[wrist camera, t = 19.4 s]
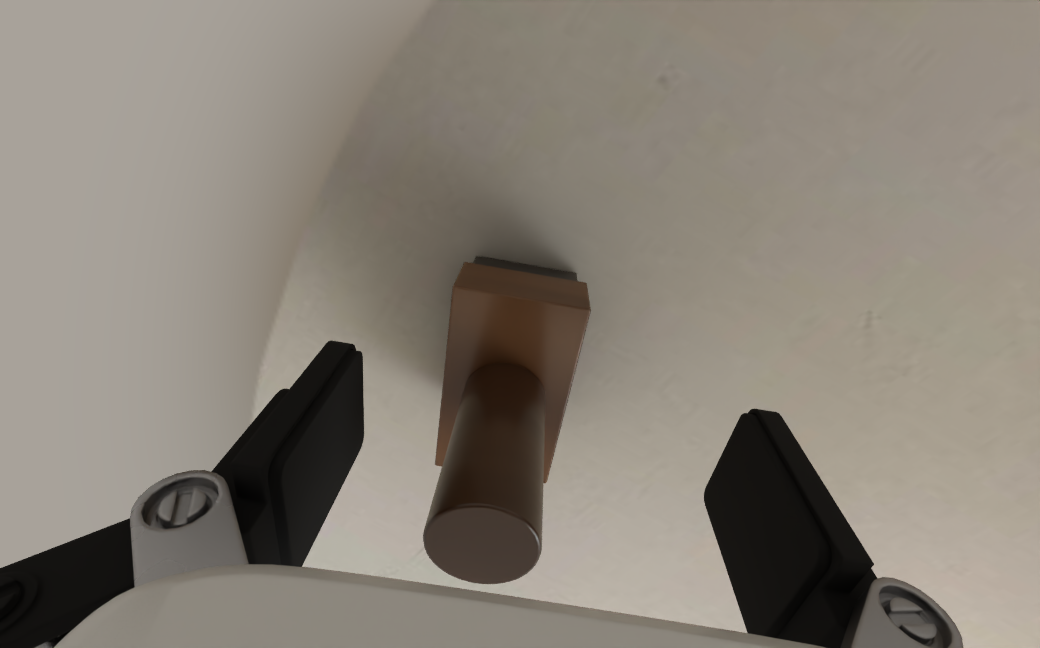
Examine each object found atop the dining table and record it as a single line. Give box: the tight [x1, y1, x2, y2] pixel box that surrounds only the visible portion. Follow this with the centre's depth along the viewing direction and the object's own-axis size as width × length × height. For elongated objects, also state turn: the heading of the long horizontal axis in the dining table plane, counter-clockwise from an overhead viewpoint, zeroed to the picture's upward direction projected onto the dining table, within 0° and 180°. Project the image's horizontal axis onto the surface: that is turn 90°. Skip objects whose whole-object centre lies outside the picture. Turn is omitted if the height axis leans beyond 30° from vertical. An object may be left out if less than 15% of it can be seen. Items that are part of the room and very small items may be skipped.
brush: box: [423, 256, 591, 584], centre depth 14 cm, size 7×4×9 cm, turn 171°
